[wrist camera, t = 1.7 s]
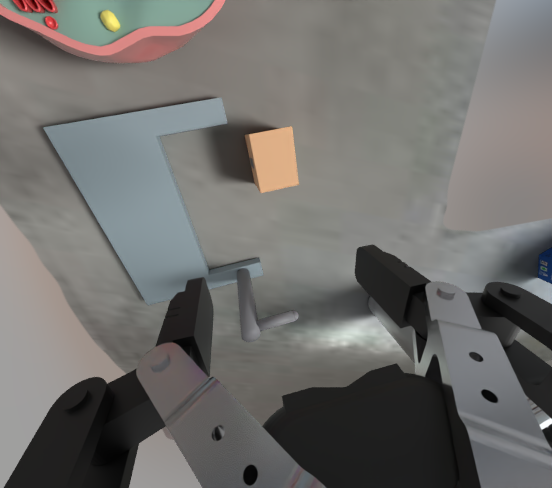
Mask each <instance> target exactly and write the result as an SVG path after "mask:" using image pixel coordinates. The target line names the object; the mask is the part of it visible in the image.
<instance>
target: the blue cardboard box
mask: <svg viewBox="0 0 552 488" xmlns="http://www.w3.org/2000/svg"><path fill="white" fill-rule="evenodd" d="M538 278H540V279H542V280H544V281H546V282H549V283H551V284H552V248H550V249H548V250H547V251H545V252H543V253H542V254H540V255H539V265H538Z"/></svg>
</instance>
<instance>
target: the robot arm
mask: <svg viewBox="0 0 552 488" xmlns="http://www.w3.org/2000/svg"><path fill="white" fill-rule="evenodd" d="M355 276H356V279H357V281H358V283H359V284H360V285H361V286H362V287H363V288H364V289H365V290H366V291H367V293H368V294H369V295H370V298H369V302H368V306H369V309H370V310H371V311H372V312H373V314H374V315H375V317H377V319H378V320H379V321H380V322H381V323H382V325H383V326H384V327H385V328H386V329H387V331H388V332H389V333H390V334H391V335H392V337H393V338H394V339H395V340H396V341H397V343H398V344H399V345H400V346H401V347H402V349H403V350H404V351H405V352H406V353H407V355H408V356H409V357H410V358H411V359H412V361H413V362H414V363H415V374H409V373H404V372H403V371H402V370H401V369H400V367H399V366H398V365H397V364H393V365H390V366H386V367H382V368H379V369H375V370H372V371H369V372H368V373H366V374H365V375H364V376H362V377H361V378H359V379H358V380H356V381H355V382H353V383H352V384H350V385H349V386H347V387H342V388H341V387H312V388H308V389H305V390H301V391H298V392H294V393H291V394H287V395H284V396H282V399H283V407H282V408H280V409H279V410H277V411H276V412H275V413H274V414H273V415H272V416H271V417H270V418H269V419H268V420H267V421H266V422H265V423H264V425H263V426H261V425H260V424H259V423H258V422H257V421H256V420H255V419H254V417H253V416H252V415H251V414H250V413H249V412H248V411H247V410H246V409H245V408H244V407H243V406H242V405H241V404H240V403H239V402H238V401H237V400H236V399H235V398H234V397H233V395H232V394H231V393H230V392H229V391H228V390H227V389H226V388H225V387H224V386H223V385H222V384H221V383H220V382H219V381H218V380H217V379H216V378H214V377H211V378H209V377H210V362H211V346H212V330H213V304H212V300H211V296H210V293H209V290H208V286H207V283H206V280H205V278H204V277H200V278H195V279H190V280H188V281H187V284H186V287H185V291H183V292H178V293H177V294H176V295H175V296H174V297H173V299H172V300H171V301H170V304H169V307H168V311H167V313H166V316H165V319H164V322H163V325H162V328H161V331H160V334H159V337H158V340H157V343H156V347H154V348H153V349H151V350H150V351H149V352H147V353H146V354H145V355H144V356H143V358H142V359H141V360H140V362H139V364H138V366H137V369H135V370H133V371H132V372H130V373H128V374H126V375H124V376H122V377H120V378H118V379H116V380H114V381H112V382H110V383H108V384H107V383H106V381H105V380H104V379H102V378H100V377H93V378H88V379H86V380H83V381H81V382H79V383H77V384H75V385H74V386H72V387H71V388H70V389H68V390H67V391H66V392H65V393H63V394H62V395H61V396H60V397H59V398H58V399H57V400H56V402H55V403H54V404H53V405H52V407H51V408H50V410H49V412H48V413H47V415H46V417H45V419H44V420H43V422H42V424H41V426H40V427H39V429H38V430H37V432H36V434H35V435H34V438H33V439H32V441H31V442H30V444H29V446H28V447H27V449H26V451H25V452H24V454H23V456H22V458H21V459H20V461H19V463H18V464H17V466H16V468H15V470H14V471H13V473H12V475H11V476H10V478H9V480H8V481H7V483H6V485H5V487H4V488H129V484H130V480H131V476H132V471H133V466H134V463H135V458H136V454H137V450H138V445H139V443H140V442H141V441H143V440H145V439H146V438H148V437H149V436H151V435H153V434H154V433H155V432H157V431H159V430H160V429H162V428H164V427H165V426H166V427H167V429H168V430H169V432H170V434H171V435H172V437H173V439H174V441H175V442H176V444H177V446H178V447H179V449H180V451H181V452H182V454H183V456H184V457H185V459H186V461H187V462H188V464H189V466H190V467H191V469H192V471H193V472H194V474H195V476H196V478H197V479H198V481H199V482H200V484H201V486H202V488H552V424H550V425H549V426H548V427H545V428H544V429H542V430H541V427H540V425H539V423H538V421H537V419H536V417H535V415H534V413H533V411H532V408H531V406H530V404H529V402H528V400H527V398H526V396H527V397H528V398H529V399H530V400H531V401H533V402H534V403H535V404H536V405H537V406H538V407H539V408H540V409H541V410H542V411H544V412H545V413H546V414H547V415H548V416H549V417H550V418H551V419H552V367H551V366H550V365H548V364H547V363H546V362H544V361H543V360H542V359H540V358H539V357H538V356H536V355H535V354H534V353H532V352H531V351H530V350H528V349H527V348H526V347H524V346H523V345H522V344H520V343H519V342H518V341H516V340H515V338H516V336H517V334H518V333H519V331H520V329H522V330H524V331H525V332H527V333H528V334H529V335H531V336H532V337H534V338H535V339H537V340H538V341H540V342H541V343H542V344H544V345H545V346H547V347H548V348H549V349H550V350H552V304H550V303H549V302H547V301H545V300H543V299H541V298H539V297H537V296H536V295H534V294H532V293H530V292H528V291H526V290H524V289H522V288H520V287H518V286H515V285H512V284H508V283H502V282H491V283H488V284H487V285H486V287H485V289H484V291H483V293H466V292H465V291H463V290H462V289H461V288H459V287H457V286H455V285H453V284H450V283H446V282H439V281H435V282H431V281H430V280H428V279H427V278H425V277H424V276H423V275H421V274H420V273H418V272H417V271H415V270H414V269H413V268H411V267H409V266H408V265H407V264H405V263H404V262H402V261H401V260H400V259H398V258H397V257H396V256H394V255H391V254H389V253H386V252H383V251H382V250H380V249H379V248H378V247H376V246H375V245H368V246H363V247H359V248H358V249H357V254H356V265H355ZM525 395H526V396H525Z"/></svg>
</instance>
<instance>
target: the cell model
mask: <svg viewBox="0 0 552 488" xmlns="http://www.w3.org/2000/svg"><path fill="white" fill-rule="evenodd" d="M224 2H225V0H0V15H2V16H4V17H6V18H7V19H9V20H11V21H13V22H15V23H17V24H19V25H21V26H23V27H26V28H28V29H29V30H31V31H33V32H35V33H36V34H38V35H40V36H41V37H43V38H44V39H46V40H47V41H49V42H50V43H52V44H53V45H55V46H56V47H58V48H60V49H62V50H64V51H66V52H68V53H70V54H73V55H76V56H79V57H82V58H85V59H89V60H95V61H101V62H108V63H142V62H149V61H154V60H157V59H159V58H161V57H163V56H165V55H167V54H168V53H170V52H173V51H175V50H177V49H179V48H181V47H183V46H184V45H185V44H186V43H188V42H189V41H190V40H191V39H192V38H193V37H194V36H195V35H196V34H197V33H198V32H199V31H200V30H201V29H202V28H203V27H205V26H206V25H207V24H208V23H209V22H210V21H211V20H212V19H213V18H214V16H215V15H216V14H217V13H218V11H219V10H220V9H221V7H222V5H223V4H224Z"/></svg>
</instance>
